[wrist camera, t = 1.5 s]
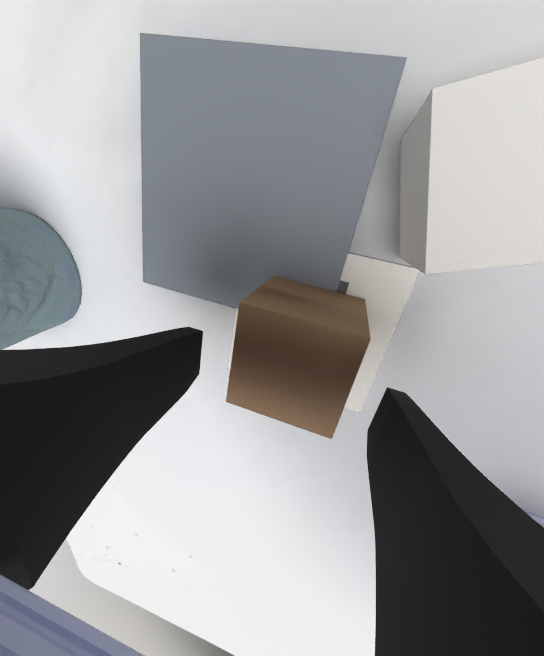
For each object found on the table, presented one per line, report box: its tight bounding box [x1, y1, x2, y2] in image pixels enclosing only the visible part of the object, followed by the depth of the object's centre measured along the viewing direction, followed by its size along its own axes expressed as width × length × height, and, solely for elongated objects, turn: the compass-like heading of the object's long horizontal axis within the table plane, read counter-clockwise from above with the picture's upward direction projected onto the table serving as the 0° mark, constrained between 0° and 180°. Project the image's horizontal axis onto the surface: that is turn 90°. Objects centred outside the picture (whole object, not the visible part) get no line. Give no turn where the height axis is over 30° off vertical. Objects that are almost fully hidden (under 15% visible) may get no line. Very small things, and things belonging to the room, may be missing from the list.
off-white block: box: [400, 57, 544, 274], centre depth 9 cm, size 5×5×5 cm
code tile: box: [227, 253, 420, 413], centre depth 15 cm, size 9×9×1 cm
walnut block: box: [226, 276, 371, 439], centre depth 13 cm, size 5×5×5 cm
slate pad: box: [140, 33, 406, 309], centre depth 14 cm, size 12×12×1 cm
